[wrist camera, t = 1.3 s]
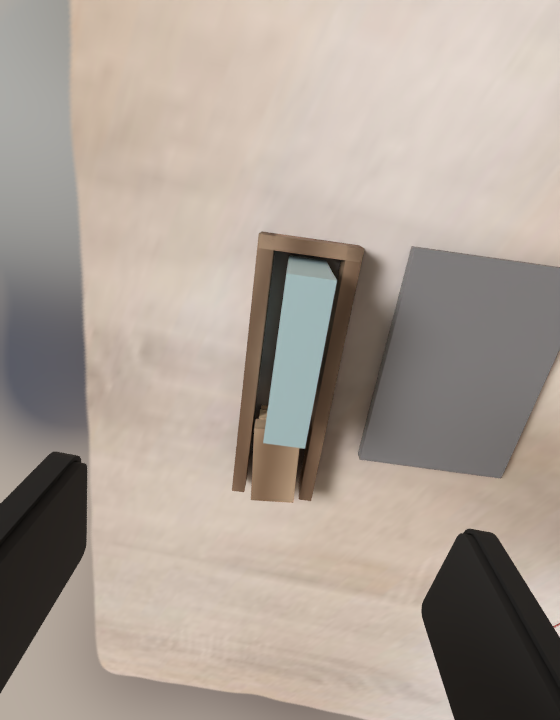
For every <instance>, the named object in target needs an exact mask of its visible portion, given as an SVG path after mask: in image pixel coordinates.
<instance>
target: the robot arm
mask: <svg viewBox="0 0 560 720" xmlns="http://www.w3.org/2000/svg"><path fill="white" fill-rule="evenodd" d="M86 525H87V465H86V464H84V463H81V458H80V457H79V456H76V455H71V454H65V453H60V452H52V453H51V454H49V455H48V456H47V457H46V458H45V459H44V460H43V461H42V462H41V463H40V464H39V465H38V466H37V468H36V469H34V470H33V471H32V472H31V473H30V474H29V475H28V476H27V477H26V478H25V479H24V481H23V482H22V483H21V484H20V485H19V486H18V487H17V488H16V489H15V490H14V491H13V492H12V493H11V494H10V495H9V496H8V497H7V498H6V499H5V500H4V501H3V502H2V503H0V693H1V691H2V690H3V688H4V686H5V685H6V683H7V681H8V679H9V678H10V676H11V675H12V673H13V671H14V670H15V668H16V666H17V665H18V663H19V661H20V660H21V658H22V656H23V655H24V653H25V651H26V650H27V648H28V646H29V645H30V643H31V642H32V640H33V638H34V636H35V635H36V633H37V632H38V630H39V628H40V626H41V625H42V623H43V622H44V620H45V618H46V617H47V615H48V613H49V612H50V610H51V608H52V607H53V605H54V603H55V602H56V600H57V598H58V597H59V595H60V593H61V592H62V590H63V588H64V587H65V585H66V583H67V582H68V580H69V578H70V577H71V575H72V574H73V572H74V570H75V568H76V567H77V565H78V564H79V562H80V560H81V558H82V556H83V554H84V551H85V548H86V533H87V526H86ZM422 618H423V622H424V625H425V628H426V631H427V634H428V637H429V640H430V644H431V647H432V650H433V653H434V656H435V659H436V662H437V666H438V669H439V672H440V675H441V678H442V681H443V685H444V688H445V691H446V694H447V697H448V700H449V703H450V707H451V710H452V713H453V716H454V719H455V720H560V637H559V636H558V634H557V632H556V631H555V629H554V628H553V626H552V624H551V623H550V621H549V620H548V618H547V616H546V615H545V613H544V612H543V610H542V608H541V607H540V605H539V604H538V602H537V600H536V599H535V597H534V595H533V594H532V592H531V591H530V589H529V587H528V586H527V584H526V583H525V581H524V579H523V578H522V576H521V575H520V573H519V571H518V570H517V568H516V567H515V565H514V563H513V562H512V560H511V559H510V557H509V555H508V554H507V552H506V551H505V549H504V547H503V546H502V544H501V543H500V541H499V539H498V538H497V537H496V535H495V534H493V533H491V532H485V531H480V530H474V529H467V530H465V532H464V533H463V534H462V533H461V534H459V535H458V536H457V538H456V540H455V542H454V544H453V546H452V547H451V549H450V551H449V553H448V555H447V557H446V559H445V561H444V563H443V565H442V566H441V568H440V570H439V572H438V574H437V576H436V578H435V580H434V582H433V584H432V585H431V587H430V589H429V591H428V593H427V595H426V597H425V599H424V601H423V603H422Z"/></svg>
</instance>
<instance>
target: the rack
mask: <svg viewBox="0 0 560 720" xmlns="http://www.w3.org/2000/svg"><path fill="white" fill-rule="evenodd" d="M275 250H276V251H283V252H290V253H297V254H304V255H311V256H318V257H325V258H332V259H339V260H341V263H340V268H339V273H338V278H337V284H336V289H335V294H334V299H333V305H332V310H331V315H330V320H329V325H328V331H327V336H326V341H325V346H324V352H323V357H322V362H321V367H320V373H319V378H318V383H317V388H316V394H315V399H314V404H313V409H312V415H311V420H310V425H309V430H308V436H307V441H306V446H305V451H304V457H303V462H302V467H301V472H300V478H299V499H300V500H308V501H311V499H312V494H313V489H314V484H315V480H316V475H317V470H318V466H319V461H320V456H321V451H322V447H323V442H324V437H325V433H326V428H327V423H328V418H329V414H330V409H331V404H332V400H333V395H334V390H335V385H336V381H337V376H338V371H339V367H340V362H341V357H342V352H343V348H344V343H345V338H346V334H347V329H348V324H349V319H350V315H351V310H352V305H353V301H354V296H355V291H356V286H357V282H358V277H359V272H360V268H361V263H362V258H363V253H364V248H362V247H361V246H359V245H352V244H345V243H338V242H331V241H324V240H317V239H310V238H303V237H296V236H289V235H282V234H275V233H268V232H261V233H259V237H258V247H257V256H256V266H255V275H254V285H253V294H252V304H251V313H250V323H249V333H248V342H247V352H246V361H245V371H244V380H243V390H242V399H241V409H240V419H239V428H238V438H237V447H236V457H235V466H234V476H233V485H232V491H239V492H244V490H245V485H246V479H247V473H248V465H249V456H250V448H251V440H252V432H253V424H254V416H255V407H256V399H257V391H258V383H259V375H260V367H261V358H262V350H263V342H264V334H265V326H266V318H267V309H268V301H269V293H270V285H271V277H272V269H273V260H274V252H275Z"/></svg>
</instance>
